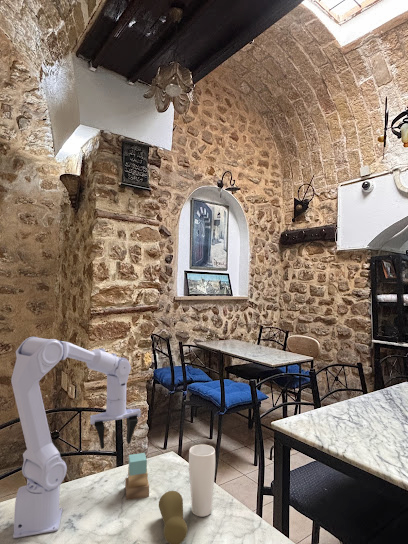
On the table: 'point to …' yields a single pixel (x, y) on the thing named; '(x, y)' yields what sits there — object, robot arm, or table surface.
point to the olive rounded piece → (173, 517)
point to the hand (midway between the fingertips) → (115, 444)
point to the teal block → (137, 464)
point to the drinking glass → (202, 478)
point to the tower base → (136, 491)
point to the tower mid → (137, 479)
